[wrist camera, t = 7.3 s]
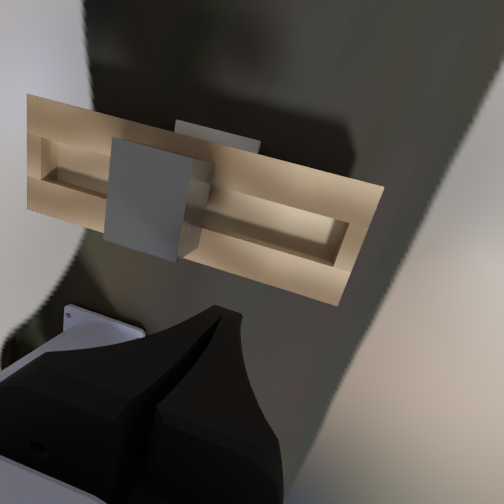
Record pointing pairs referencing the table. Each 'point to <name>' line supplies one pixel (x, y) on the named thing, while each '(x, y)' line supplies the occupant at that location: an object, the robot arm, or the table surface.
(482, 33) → the table surface
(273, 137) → the table surface
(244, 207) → the tan slotted track
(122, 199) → the block
